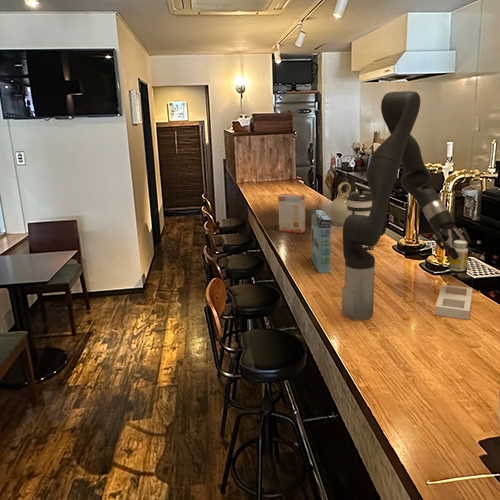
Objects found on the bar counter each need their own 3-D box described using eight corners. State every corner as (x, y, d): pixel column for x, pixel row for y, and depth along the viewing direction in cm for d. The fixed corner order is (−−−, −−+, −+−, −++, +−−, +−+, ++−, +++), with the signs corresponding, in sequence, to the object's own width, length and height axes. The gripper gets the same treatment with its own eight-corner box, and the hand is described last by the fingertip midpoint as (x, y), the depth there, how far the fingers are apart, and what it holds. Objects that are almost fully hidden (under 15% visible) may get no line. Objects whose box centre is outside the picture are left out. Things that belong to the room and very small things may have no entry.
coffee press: (365, 254, 215) (366, 190, 207) (337, 248, 227) (338, 187, 218) (386, 246, 226) (388, 185, 217) (358, 240, 238) (360, 182, 229)
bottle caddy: (468, 319, 145) (469, 311, 144) (434, 314, 150) (435, 306, 149) (471, 296, 163) (472, 288, 162) (441, 292, 167) (441, 284, 167)
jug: (359, 226, 267) (360, 183, 260) (332, 227, 267) (333, 184, 260) (354, 220, 282) (355, 179, 274) (328, 221, 282) (328, 180, 275)
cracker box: (305, 231, 261) (305, 194, 256) (300, 233, 257) (300, 196, 251) (283, 229, 269) (283, 193, 263) (278, 231, 264) (277, 194, 258)
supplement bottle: (454, 272, 155) (456, 244, 153) (446, 266, 160) (448, 240, 158) (469, 270, 156) (472, 243, 153) (460, 265, 161) (463, 239, 158)
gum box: (311, 259, 211) (310, 210, 205) (322, 258, 211) (322, 209, 205) (318, 273, 193) (318, 219, 186) (330, 272, 193) (331, 219, 186)
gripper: (429, 212, 156) (454, 255, 149) (460, 207, 162) (486, 248, 155) (416, 224, 162) (440, 266, 155) (446, 219, 168) (471, 259, 161)
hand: (463, 257), depth 155 cm, fingers closed on supplement bottle, 5 cm apart
